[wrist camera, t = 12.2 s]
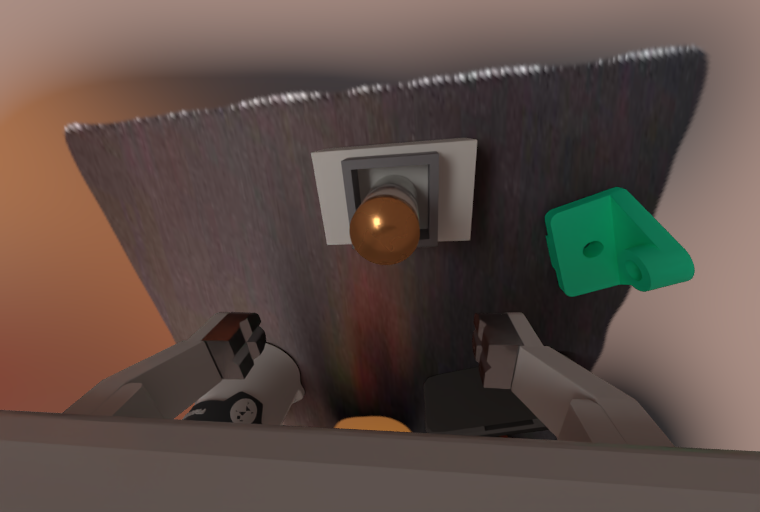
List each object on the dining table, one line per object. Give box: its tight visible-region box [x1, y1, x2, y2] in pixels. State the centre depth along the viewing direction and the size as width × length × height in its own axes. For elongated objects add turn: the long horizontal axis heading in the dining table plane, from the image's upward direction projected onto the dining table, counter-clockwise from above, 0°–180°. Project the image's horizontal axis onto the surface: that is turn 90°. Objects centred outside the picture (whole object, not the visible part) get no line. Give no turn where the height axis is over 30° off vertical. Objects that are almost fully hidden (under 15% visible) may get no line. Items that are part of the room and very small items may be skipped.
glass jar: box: [349, 174, 420, 265], centre depth 23 cm, size 5×5×10 cm
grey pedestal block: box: [311, 138, 477, 249], centre depth 29 cm, size 16×10×9 cm, turn 94°
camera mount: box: [545, 187, 695, 297], centre depth 29 cm, size 12×8×10 cm, turn 24°
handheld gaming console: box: [423, 353, 570, 437], centre depth 40 cm, size 23×3×10 cm, turn 113°
